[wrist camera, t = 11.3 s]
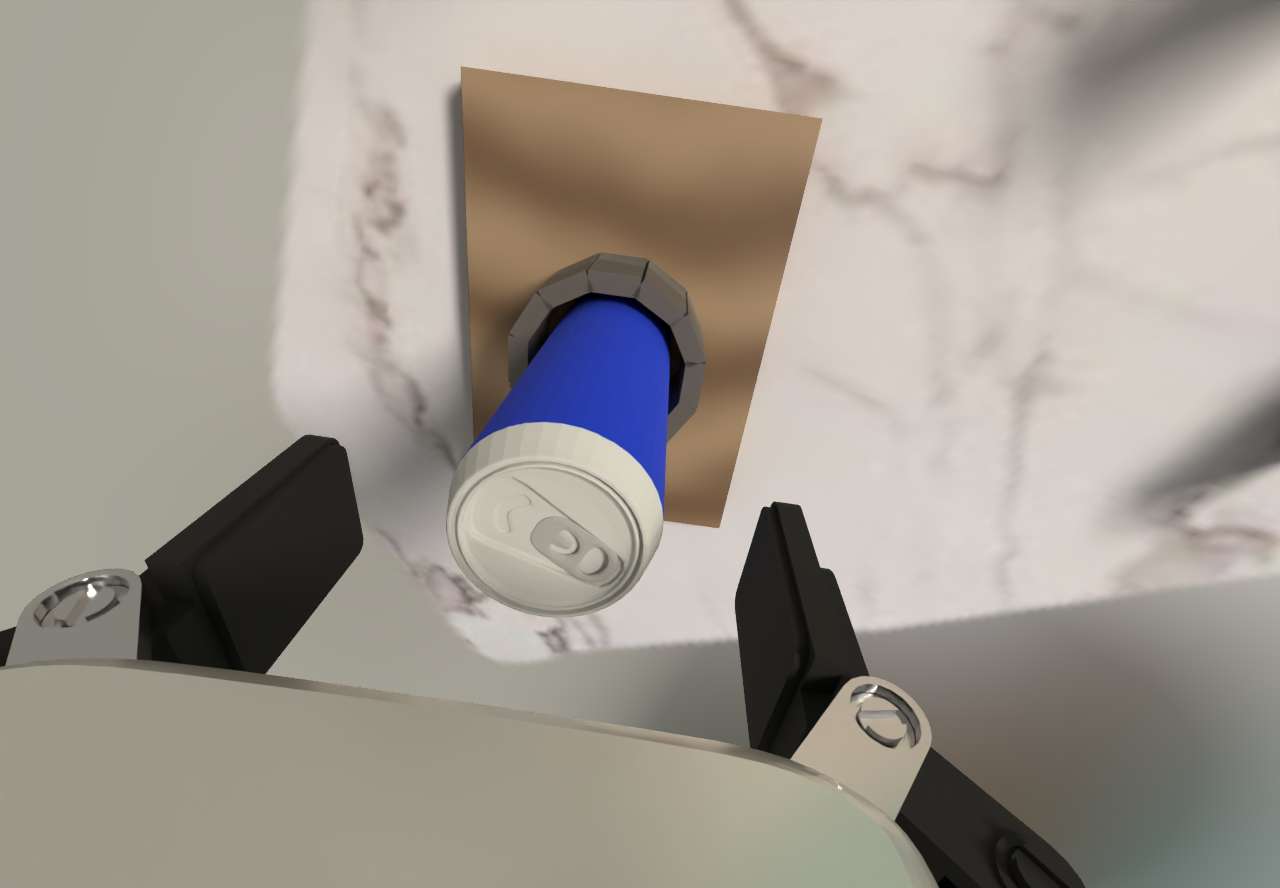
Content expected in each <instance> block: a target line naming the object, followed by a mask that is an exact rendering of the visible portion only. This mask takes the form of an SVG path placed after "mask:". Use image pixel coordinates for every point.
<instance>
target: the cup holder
mask: <svg viewBox="0 0 1280 888" xmlns="http://www.w3.org/2000/svg"><path fill="white" fill-rule="evenodd" d="M461 85H462V113H463V142H464V170H465V199H466V227H467V255H468V284H469V312H470V341H471V369H472V397H473V426H474V441H475V440H476V438H477V437H478V436H479V434H480V433H481V431H482V430H483V429H484V427H485V426H486V424H487V423H488V422H489V420H490V419H491V418H492V416H493V415H494V413H495V412H496V411H497V409H498V408H499V406H500V405H501V404H502V402H503V401H504V399H505V398H506V397H507V395H508V394H509V392H510V391H511V390H512V388H513V387H514V385H515V384H516V383H517V381H518V380H519V378H520V377H521V376H522V374H523V373H524V371H525V370H526V369H527V367H528V366H529V364H530V363H531V362H532V360H533V359H534V357H535V356H536V355H537V353H538V352H539V350H540V349H541V348H542V346H543V345H544V344H545V342H546V341H547V339H548V338H549V337H550V335H551V334H552V332H553V331H554V330H555V328H556V327H557V325H558V324H559V323H560V321H561V320H562V318H563V317H564V316H565V314H566V313H567V311H568V310H569V309H570V307H571V306H572V305H573V304H574V303H575V302H576V301H577V300H578V299H579V298H580V297H582V296H583V295H585V294H586V293H589V292H595V293H602V294H609V295H616V296H623V297H630V298H636V299H637V300H638V301H639V302H641V303H642V304H643V305H644V306H646V307H647V308H648V309H650V310H651V311H652V312H653V313H655V314H656V315H657V316H659V317H660V318H661V319H662V320H664V321H665V322H666V323H667V325H668V328H669V333H670V341H671V348H670V373H669V398H668V422H667V447H666V472H665V496H664V521H672V522H679V523H686V524H693V525H700V526H707V527H714V528H719V527H720V523H721V519H722V515H723V511H724V507H725V503H726V499H727V495H728V491H729V487H730V483H731V479H732V475H733V471H734V467H735V463H736V459H737V455H738V451H739V447H740V443H741V439H742V435H743V431H744V428H745V424H746V420H747V416H748V412H749V408H750V404H751V400H752V396H753V392H754V388H755V384H756V380H757V376H758V372H759V368H760V364H761V360H762V356H763V352H764V348H765V344H766V340H767V336H768V332H769V328H770V325H771V321H772V317H773V313H774V309H775V305H776V301H777V297H778V293H779V289H780V285H781V281H782V277H783V273H784V269H785V265H786V261H787V257H788V253H789V249H790V245H791V241H792V237H793V233H794V229H795V226H796V222H797V218H798V214H799V210H800V206H801V202H802V198H803V194H804V190H805V186H806V182H807V178H808V174H809V170H810V166H811V162H812V158H813V154H814V150H815V146H816V142H817V138H818V134H819V130H820V126H821V123H822V119H821V118H814V117H807V116H800V115H793V114H786V113H779V112H772V111H765V110H758V109H751V108H745V107H738V106H731V105H724V104H717V103H710V102H703V101H696V100H689V99H682V98H675V97H668V96H661V95H655V94H648V93H641V92H634V91H627V90H620V89H613V88H606V87H599V86H592V85H585V84H578V83H571V82H565V81H558V80H551V79H544V78H537V77H530V76H523V75H516V74H509V73H502V72H495V71H488V70H482V69H475V68H468V67H461Z"/></svg>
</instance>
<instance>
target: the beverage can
mask: <svg viewBox="0 0 1280 888" xmlns="http://www.w3.org/2000/svg"><path fill="white" fill-rule="evenodd" d="M670 348H671V341H670V333H669V328H668V325H667V323H666V322H665V321H664V320H662V319H661V318H660V317H659V316H657V315H656V314H655V313H653V312H652V311H651V310H650V309H648V308H647V307H646V306H644V305H643V304H642V303H641V302H639V301H638V300H637V299H636V298H630V297H623V296H616V295H609V294H602V293H595V292H589V293H586V294H585V295H583V296H582V297H580V298H579V299H578V300H577V301H576V302H575V303H574V304H573V305H572V306H571V307H570V309H569V310H568V311H567V313H566V314H565V316H564V317H563V318H562V320H561V321H560V323H559V324H558V325H557V327H556V328H555V330H554V331H553V332H552V334H551V335H550V337H549V338H548V339H547V341H546V342H545V344H544V345H543V346H542V348H541V349H540V350H539V352H538V353H537V355H536V356H535V357H534V359H533V360H532V362H531V363H530V364H529V366H528V367H527V369H526V370H525V371H524V373H523V374H522V376H521V377H520V378H519V380H518V381H517V383H516V384H515V385H514V387H513V388H512V390H511V391H510V392H509V394H508V395H507V397H506V398H505V399H504V401H503V402H502V404H501V405H500V406H499V408H498V409H497V411H496V412H495V413H494V415H493V416H492V418H491V419H490V420H489V422H488V423H487V424H486V426H485V427H484V429H483V430H482V431H481V433H480V434H479V436H478V437H477V438H476V440H475V441H474V443H473V444H472V445H471V447H470V448H469V450H468V451H467V452H466V454H465V455H464V457H463V458H462V459H461V461H460V462H459V464H458V466H457V468H456V470H455V473H454V475H453V478H452V482H451V486H450V491H449V500H448V509H447V522H446V530H447V537H448V543H449V546H450V549H451V552H452V555H453V557H454V558H455V560H456V562H457V564H458V566H459V567H460V569H461V570H462V571H463V573H464V574H465V575H466V577H467V578H468V579H469V580H470V581H471V582H472V583H473V584H474V585H475V586H476V587H477V588H479V589H480V590H481V591H482V592H484V593H485V594H486V595H488V596H489V597H491V598H493V599H494V600H496V601H498V602H499V603H501V604H504V605H506V606H508V607H510V608H513V609H515V610H518V611H522V612H525V613H528V614H533V615H538V616H545V617H574V616H581V615H586V614H589V613H593V612H597V611H599V610H601V609H604V608H606V607H608V606H610V605H612V604H614V603H615V602H617V601H618V600H620V599H621V598H623V597H624V596H625V595H626V594H627V593H628V592H629V591H631V590H632V588H633V587H634V586H635V585H636V584H637V582H638V581H639V580H640V578H641V576H642V575H643V573H644V571H645V570H646V568H647V566H648V565H649V563H650V561H651V559H652V558H653V556H654V554H655V552H656V550H657V548H658V546H659V543H660V539H661V536H662V530H663V521H664V496H665V472H666V447H667V422H668V398H669V373H670Z"/></svg>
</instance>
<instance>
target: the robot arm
mask: <svg viewBox="0 0 1280 888" xmlns="http://www.w3.org/2000/svg"><path fill="white" fill-rule="evenodd" d="M362 546H363V534H362V528H361V523H360V518H359V513H358V508H357V503H356V498H355V493H354V488H353V482H352V477H351V472H350V467H349V462H348V457H347V452H346V449H345V448H344V447H343V446H340V444H339V442H338V441H337V440H336V439H334V438H329V437H322V436H315V435H305V436H303V437H301V438H300V439H299V440H298V441H296V442H295V443H294V444H292V445H291V446H290V447H289V448H287V449H286V450H285V451H284V452H282V453H281V454H280V455H278V456H277V457H276V458H275V459H273V460H272V461H271V462H269V463H268V464H267V465H266V466H264V467H263V468H262V469H261V470H259V471H258V472H257V473H255V474H254V475H253V476H252V477H251V478H249V479H248V480H247V481H245V482H244V483H243V484H241V485H240V486H239V487H238V488H236V489H235V490H234V491H232V492H231V493H230V494H229V495H227V496H226V497H225V498H224V499H222V500H221V501H220V502H219V503H217V504H216V505H215V506H213V507H212V508H211V509H210V510H208V511H207V512H206V513H205V514H203V515H202V516H201V517H199V518H198V519H197V520H196V521H194V522H193V523H192V524H190V525H189V526H188V527H187V528H185V529H184V530H183V531H181V532H180V533H179V534H178V535H176V536H175V537H174V538H173V539H171V540H170V541H169V542H167V543H166V544H165V545H164V546H162V547H161V548H160V549H159V550H157V551H156V552H155V553H153V555H151V556H150V557H148V558H147V559H146V560H145V562H146V564H147V566H148V569H147V570H146V571H145V572H143V573H142V574H141V575H139V576H138V575H136V574H135V573H134V572H132V571H128V570H123V569H104V570H98V571H93V572H88V573H85V574H81V575H78V576H75V577H72V578H69V579H67V580H65V581H63V582H61V583H59V584H57V585H54V586H52V587H51V588H49V589H47V590H46V591H44V592H43V593H41V594H40V595H38V596H37V597H36V598H34V599H33V601H32V602H30V603H29V604H28V605H27V606H26V607H25V608H24V610H23V612H22V614H21V615H20V617H19V620H18V624H17V626H16V627H13V628H10V629H7V630H4V631H1V632H0V888H1085V886H1084V884H1083V883H1082V881H1081V879H1080V878H1079V876H1078V875H1077V874H1076V873H1075V871H1074V870H1073V869H1072V867H1071V866H1070V865H1069V863H1068V862H1067V861H1066V860H1065V859H1064V858H1063V857H1062V856H1061V855H1060V854H1059V853H1058V852H1057V851H1056V850H1055V849H1054V848H1053V847H1052V846H1051V845H1049V844H1048V843H1047V842H1046V841H1045V840H1043V839H1042V838H1041V837H1040V836H1038V835H1037V834H1036V833H1035V832H1034V831H1032V830H1031V829H1030V828H1029V827H1027V826H1026V825H1025V824H1024V823H1023V822H1021V821H1020V820H1019V819H1018V818H1016V817H1015V816H1014V815H1013V814H1012V813H1010V812H1009V811H1008V810H1007V809H1005V808H1004V807H1003V806H1002V805H1001V804H999V803H998V802H997V801H996V800H995V799H993V798H992V797H991V796H990V795H989V794H987V793H986V792H985V791H984V790H982V789H981V788H980V787H979V786H978V785H976V784H975V783H974V782H973V781H971V780H970V779H969V778H968V777H967V776H965V775H964V774H963V773H962V772H960V771H959V770H958V769H957V768H956V767H954V766H953V765H952V764H951V763H950V762H948V761H947V760H946V759H944V758H943V757H942V756H941V755H940V754H939V753H937V752H936V751H935V750H934V749H932V748H931V747H930V744H931V739H932V736H931V730H930V725H929V723H928V721H927V719H926V717H925V715H924V713H923V711H922V710H921V709H920V707H919V706H918V705H917V704H916V702H915V701H914V700H913V699H912V698H911V697H910V696H909V695H907V694H906V693H905V692H904V691H903V690H901V689H900V688H898V687H897V686H895V685H893V684H891V683H890V682H888V681H885V680H882V679H879V678H876V677H870V676H869V673H868V671H867V668H866V665H865V662H864V659H863V656H862V653H861V650H860V647H859V645H858V642H857V639H856V636H855V633H854V630H853V627H852V624H851V621H850V618H849V615H848V613H847V610H846V607H845V604H844V601H843V598H842V595H841V592H840V589H839V587H838V584H837V581H836V578H835V576H834V574H833V572H832V571H831V570H830V569H825V568H820V566H819V562H818V559H817V556H816V553H815V550H814V547H813V544H812V540H811V537H810V534H809V531H808V528H807V525H806V521H805V518H804V515H803V512H802V509H801V507H800V506H799V505H795V504H788V503H781V502H773V503H772V504H771V507H763V508H762V510H761V513H760V516H759V520H758V523H757V526H756V529H755V533H754V536H753V539H752V543H751V546H750V549H749V552H748V556H747V559H746V562H745V565H744V569H743V572H742V575H741V578H740V582H739V585H738V588H737V592H736V597H735V612H736V622H737V631H738V640H739V648H740V658H741V667H742V677H743V686H744V694H745V704H746V713H747V722H748V731H749V741H750V748H747V747H742V746H738V745H733V744H728V743H724V742H719V741H714V740H707V739H701V738H696V737H690V736H684V735H678V734H672V733H665V732H660V731H653V730H648V729H642V728H635V727H628V726H622V725H615V724H608V723H602V722H595V721H588V720H581V719H574V718H568V717H561V716H555V715H548V714H541V713H534V712H527V711H521V710H514V709H507V708H501V707H493V706H486V705H480V704H473V703H466V702H459V701H452V700H445V699H438V698H430V697H424V696H417V695H410V694H403V693H396V692H389V691H382V690H375V689H368V688H361V687H353V686H346V685H339V684H331V683H324V682H317V681H310V680H302V679H295V678H288V677H281V676H273V675H266V673H267V671H268V670H269V669H270V667H271V666H272V665H273V664H274V662H275V661H276V660H277V658H278V657H279V656H280V655H281V653H282V652H283V651H284V649H285V648H286V647H287V646H288V644H289V643H290V642H291V641H292V639H293V638H294V637H295V635H296V634H297V633H298V631H299V630H300V629H301V627H302V626H303V625H304V624H305V623H306V621H307V620H308V619H309V617H310V616H311V615H312V613H313V612H314V611H315V610H316V608H317V607H318V606H319V604H320V603H321V602H322V601H323V599H324V598H325V597H326V596H327V594H328V593H329V592H330V590H331V589H332V588H333V587H334V585H335V584H336V583H337V582H338V580H339V579H340V578H341V576H342V575H343V574H344V573H345V571H346V570H347V568H348V567H349V566H350V565H351V564H352V562H353V561H354V560H355V558H356V557H357V556H358V555H359V553H360V551H361V549H362Z"/></svg>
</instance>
